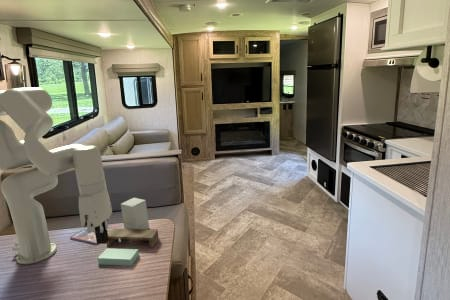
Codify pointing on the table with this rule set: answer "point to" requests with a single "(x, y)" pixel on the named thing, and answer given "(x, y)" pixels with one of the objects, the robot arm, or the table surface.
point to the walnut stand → (133, 235)
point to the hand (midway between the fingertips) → (103, 242)
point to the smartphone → (85, 237)
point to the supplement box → (135, 214)
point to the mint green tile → (118, 256)
